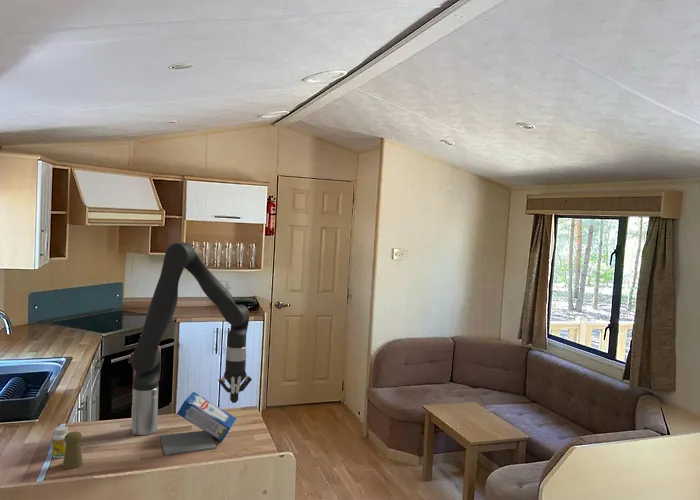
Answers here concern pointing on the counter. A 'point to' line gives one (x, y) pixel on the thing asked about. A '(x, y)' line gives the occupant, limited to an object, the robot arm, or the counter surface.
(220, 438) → the milk carton
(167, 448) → the mat
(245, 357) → the robot arm
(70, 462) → the cork
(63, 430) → the supplement bottle
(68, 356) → the counter surface
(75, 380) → the counter surface
